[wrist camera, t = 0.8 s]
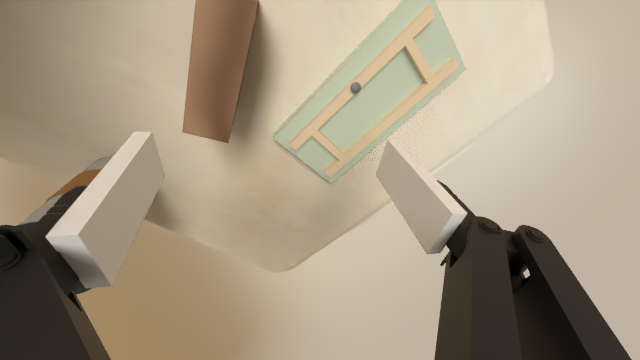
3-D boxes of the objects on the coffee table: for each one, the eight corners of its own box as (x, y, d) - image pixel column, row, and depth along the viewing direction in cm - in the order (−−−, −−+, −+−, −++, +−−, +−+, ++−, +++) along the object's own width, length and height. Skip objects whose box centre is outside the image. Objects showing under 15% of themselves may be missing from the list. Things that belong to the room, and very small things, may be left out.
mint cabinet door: (273, 133, 34) (274, 143, 31) (419, -17, 27) (434, -19, 24) (329, 178, 40) (333, 189, 38) (458, 66, 33) (473, 72, 31)
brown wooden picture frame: (201, 99, 29) (182, 132, 22) (217, -20, 23) (198, -26, 16) (236, 109, 31) (228, 143, 24) (259, 0, 25) (259, 2, 18)
